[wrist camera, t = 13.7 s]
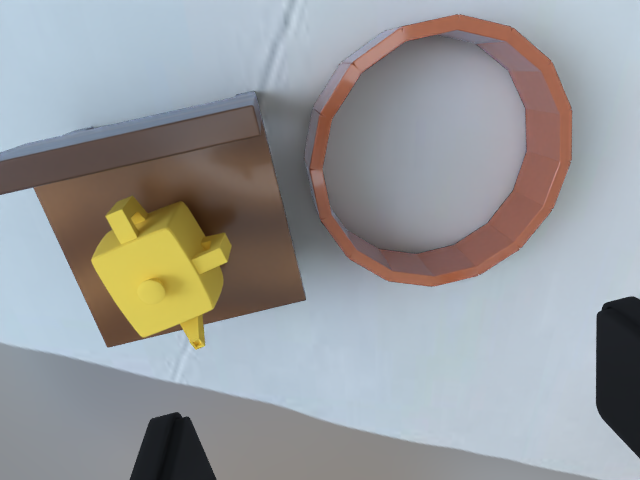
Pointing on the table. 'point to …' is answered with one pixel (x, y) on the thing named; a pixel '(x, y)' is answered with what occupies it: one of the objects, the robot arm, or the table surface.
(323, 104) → the ring
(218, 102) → the miniature wooden seat
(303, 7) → the table surface
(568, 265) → the table surface
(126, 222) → the teapot
